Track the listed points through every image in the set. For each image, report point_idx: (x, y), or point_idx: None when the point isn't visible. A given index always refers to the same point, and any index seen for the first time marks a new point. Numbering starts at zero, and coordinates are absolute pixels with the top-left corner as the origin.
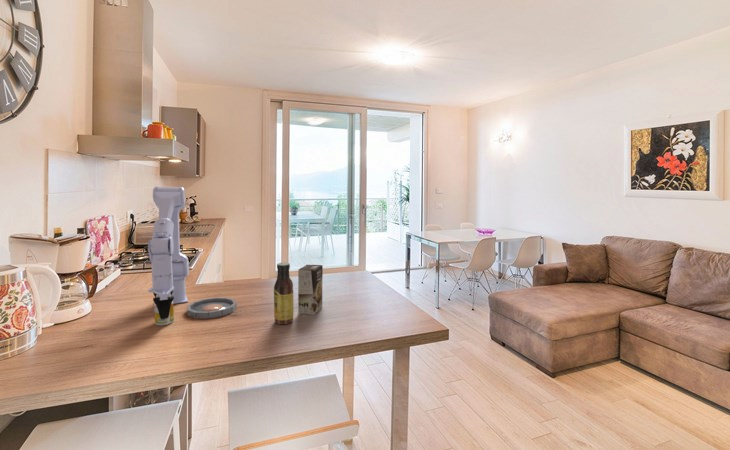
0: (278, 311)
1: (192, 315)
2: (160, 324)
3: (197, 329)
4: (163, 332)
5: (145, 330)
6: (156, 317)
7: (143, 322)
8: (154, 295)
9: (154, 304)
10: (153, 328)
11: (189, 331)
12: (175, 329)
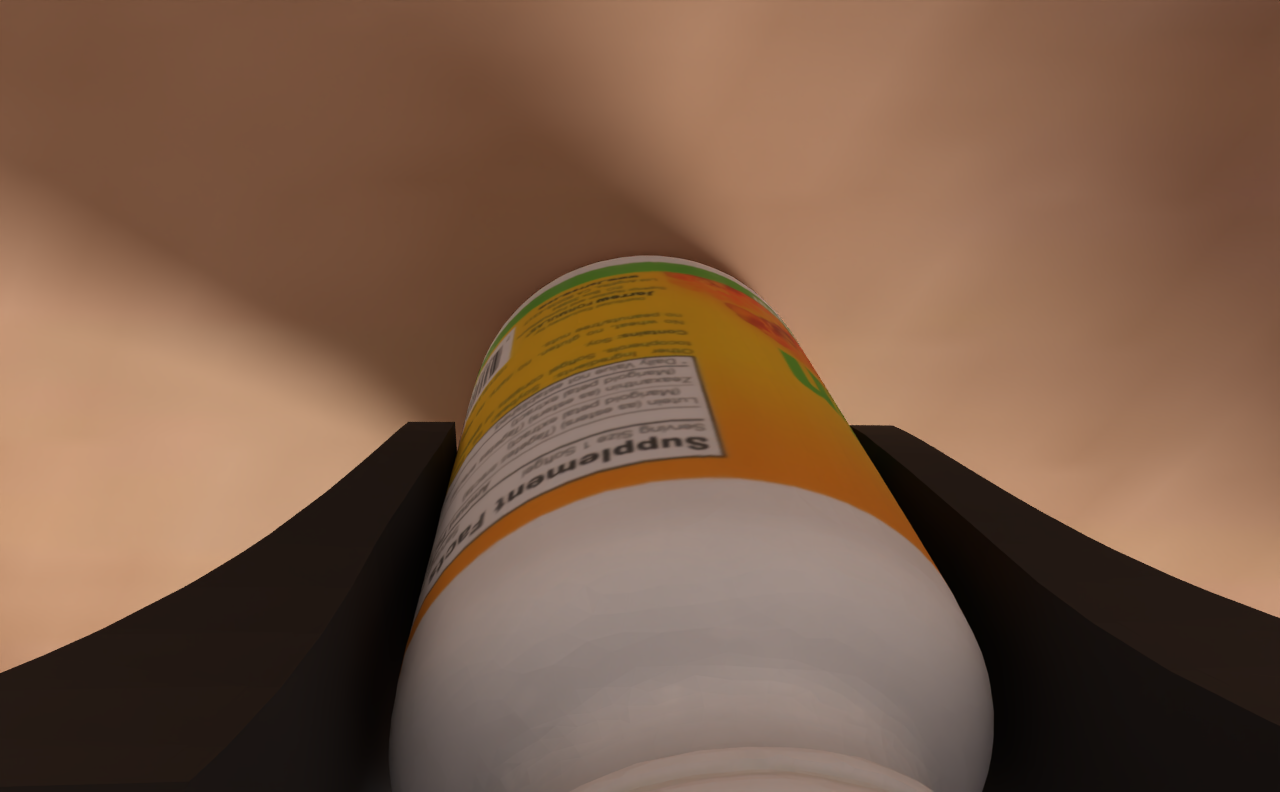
0: None
1: None
2: (492, 346)
3: None
4: (88, 371)
5: (336, 51)
6: (536, 345)
7: (905, 19)
8: (1240, 716)
9: (625, 513)
10: (395, 211)
11: None
12: (183, 542)
